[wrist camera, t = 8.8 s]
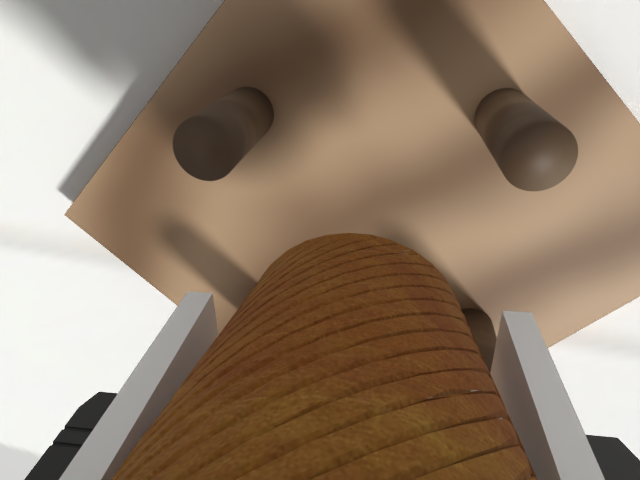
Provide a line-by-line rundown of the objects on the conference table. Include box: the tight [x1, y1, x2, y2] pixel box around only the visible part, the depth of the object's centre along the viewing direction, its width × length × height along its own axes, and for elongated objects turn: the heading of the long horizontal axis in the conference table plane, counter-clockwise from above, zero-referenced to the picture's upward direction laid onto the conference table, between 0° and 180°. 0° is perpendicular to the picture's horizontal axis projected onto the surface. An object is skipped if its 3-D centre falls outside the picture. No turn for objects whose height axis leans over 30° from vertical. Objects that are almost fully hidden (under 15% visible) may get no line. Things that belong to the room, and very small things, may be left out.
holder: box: [64, 0, 640, 372], centre depth 19 cm, size 20×20×6 cm
